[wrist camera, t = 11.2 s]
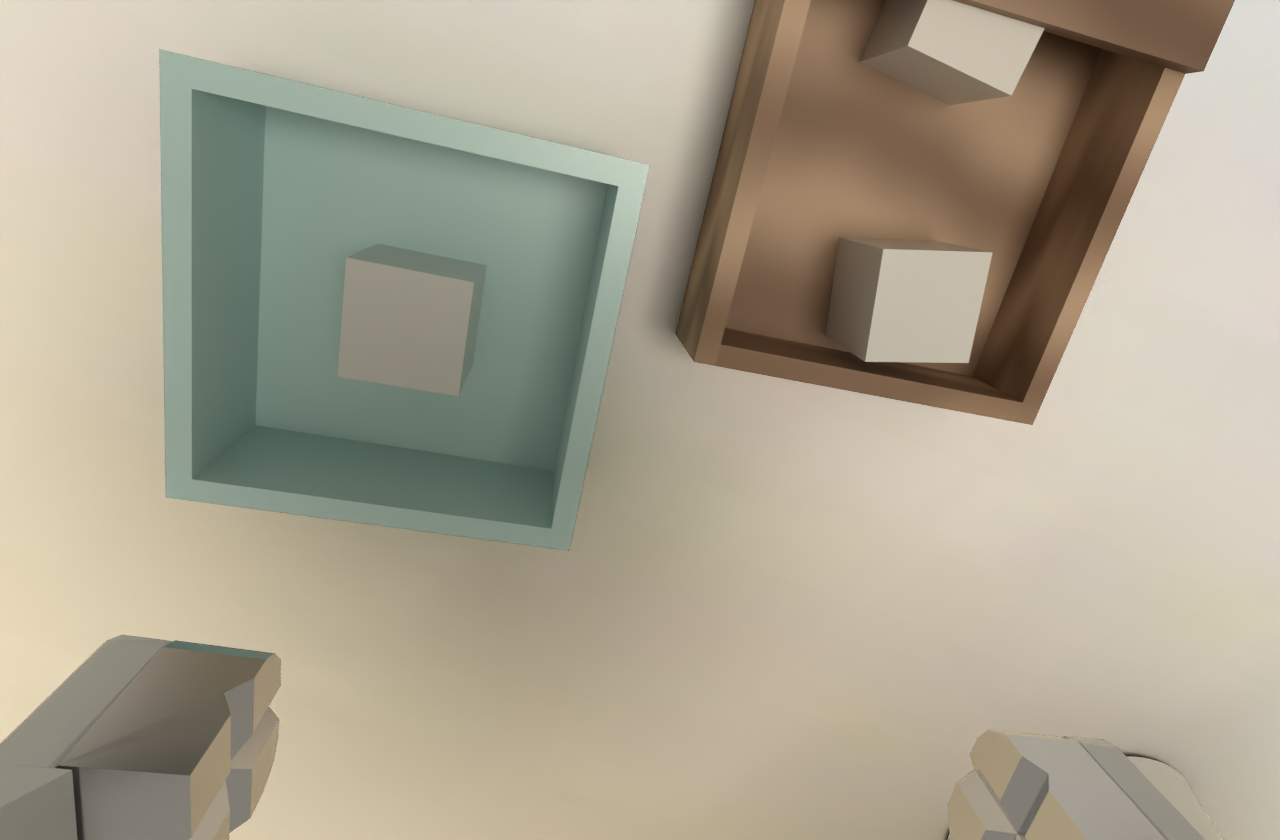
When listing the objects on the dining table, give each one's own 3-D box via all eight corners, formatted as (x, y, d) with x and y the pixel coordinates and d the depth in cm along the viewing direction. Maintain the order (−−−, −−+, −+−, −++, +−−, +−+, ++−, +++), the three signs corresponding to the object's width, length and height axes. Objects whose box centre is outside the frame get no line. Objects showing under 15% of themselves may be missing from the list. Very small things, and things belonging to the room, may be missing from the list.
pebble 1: (946, 105, 26) (1011, 95, 22) (856, 63, 25) (907, 45, 21) (999, -8, 25) (1077, -38, 21) (906, -57, 24) (970, -97, 20)
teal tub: (568, 481, 30) (569, 550, 25) (242, 433, 28) (166, 497, 23) (631, 164, 26) (649, 164, 21) (251, 75, 24) (159, 49, 18)
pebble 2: (916, 337, 29) (968, 362, 25) (825, 336, 28) (865, 361, 25) (934, 240, 27) (992, 252, 24) (839, 237, 27) (883, 249, 23)
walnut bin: (971, 390, 31) (1044, 431, 26) (675, 333, 28) (697, 367, 24) (1135, -23, 26) (1262, -64, 21) (787, -136, 23) (844, -212, 18)
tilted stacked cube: (472, 364, 27) (458, 396, 24) (369, 346, 27) (337, 376, 23) (486, 265, 26) (474, 282, 22) (378, 243, 25) (346, 257, 22)
